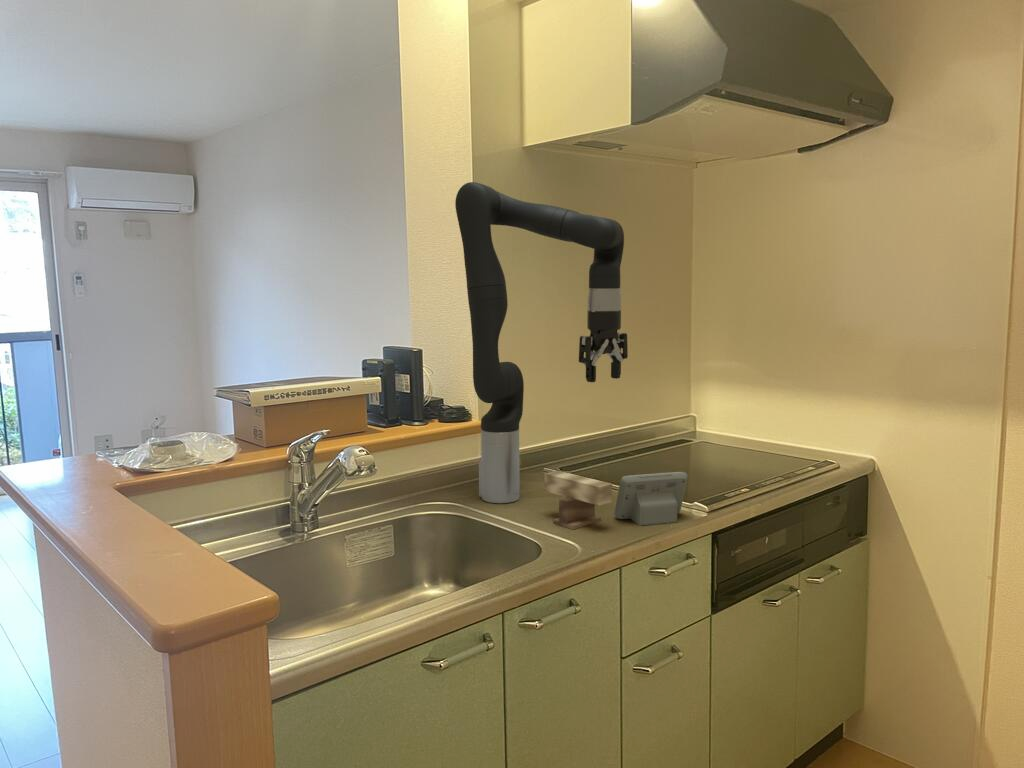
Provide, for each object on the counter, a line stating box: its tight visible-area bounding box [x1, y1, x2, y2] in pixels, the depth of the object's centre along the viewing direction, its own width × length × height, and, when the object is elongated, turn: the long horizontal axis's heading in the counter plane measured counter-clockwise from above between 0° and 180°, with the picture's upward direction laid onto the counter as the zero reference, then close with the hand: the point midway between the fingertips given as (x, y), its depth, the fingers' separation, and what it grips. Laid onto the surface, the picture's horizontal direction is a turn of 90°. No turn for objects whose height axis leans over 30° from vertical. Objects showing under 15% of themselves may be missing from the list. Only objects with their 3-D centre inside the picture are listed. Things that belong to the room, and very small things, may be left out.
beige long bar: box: [544, 470, 613, 506], centre depth 170 cm, size 16×4×4 cm, turn 44°
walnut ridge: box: [552, 496, 602, 530], centre depth 171 cm, size 6×9×6 cm, turn 133°
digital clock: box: [613, 471, 689, 526], centre depth 173 cm, size 16×9×11 cm, turn 93°
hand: (603, 380), depth 177 cm, fingers open, 8 cm apart
